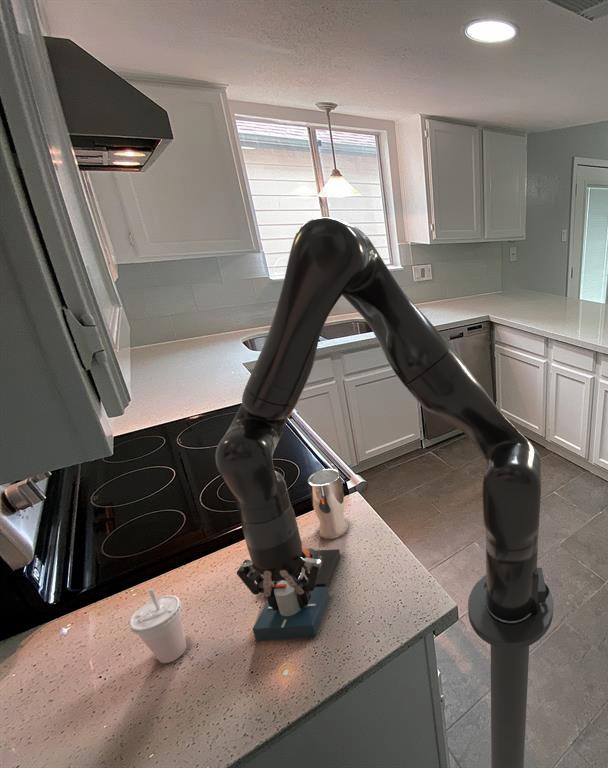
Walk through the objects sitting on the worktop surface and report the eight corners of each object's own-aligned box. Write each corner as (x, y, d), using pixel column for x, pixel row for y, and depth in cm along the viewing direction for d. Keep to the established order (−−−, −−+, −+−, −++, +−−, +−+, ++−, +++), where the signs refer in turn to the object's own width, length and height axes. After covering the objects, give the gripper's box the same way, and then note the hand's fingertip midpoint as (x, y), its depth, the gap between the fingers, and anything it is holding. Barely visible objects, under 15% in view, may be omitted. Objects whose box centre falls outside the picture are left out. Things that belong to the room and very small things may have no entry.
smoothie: (203, 646, 70) (179, 586, 65) (158, 679, 65) (129, 617, 60) (185, 628, 73) (161, 569, 68) (141, 658, 68) (111, 598, 63)
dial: (307, 596, 76) (302, 575, 74) (299, 615, 73) (293, 593, 71) (285, 597, 76) (279, 576, 74) (275, 617, 72) (269, 595, 70)
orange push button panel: (340, 556, 89) (338, 542, 88) (327, 591, 81) (323, 576, 79) (283, 559, 88) (279, 545, 87) (263, 595, 80) (259, 580, 78)
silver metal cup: (330, 545, 92) (319, 490, 86) (311, 533, 96) (299, 479, 90) (355, 526, 98) (347, 474, 92) (337, 516, 101) (327, 464, 95)
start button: (313, 554, 85) (312, 548, 84) (307, 568, 82) (305, 561, 81) (295, 555, 85) (294, 549, 84) (288, 569, 81) (286, 562, 81)
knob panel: (330, 597, 80) (327, 585, 78) (315, 637, 72) (312, 624, 71) (276, 600, 79) (273, 588, 78) (255, 641, 71) (251, 629, 70)
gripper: (323, 513, 72) (338, 585, 78) (238, 517, 70) (260, 590, 77) (308, 545, 65) (325, 621, 71) (213, 550, 64) (239, 627, 70)
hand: (291, 604), depth 74 cm, fingers closed on dial, 4 cm apart
